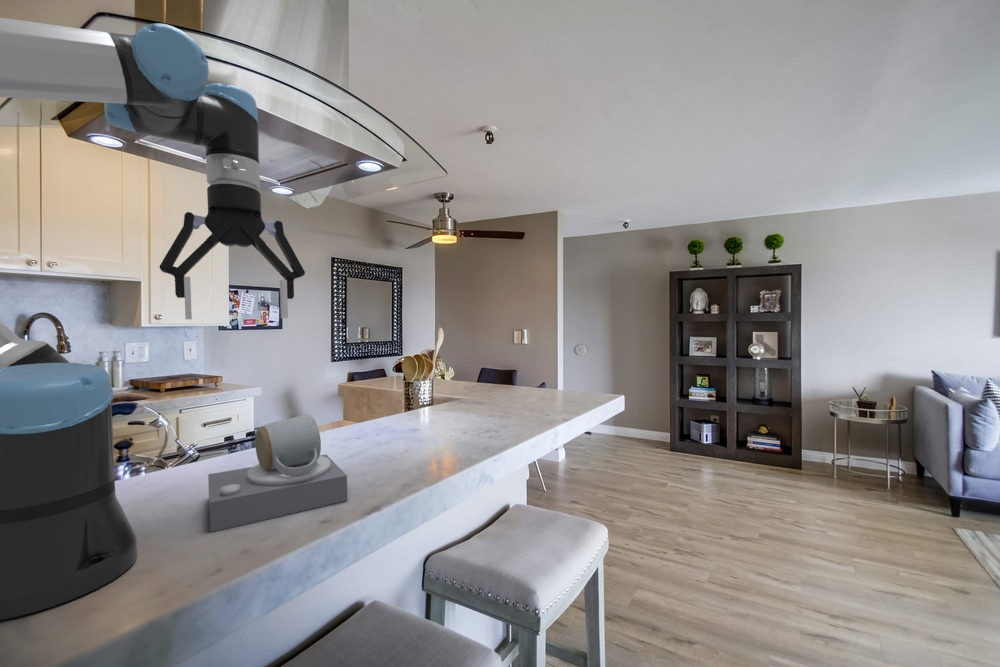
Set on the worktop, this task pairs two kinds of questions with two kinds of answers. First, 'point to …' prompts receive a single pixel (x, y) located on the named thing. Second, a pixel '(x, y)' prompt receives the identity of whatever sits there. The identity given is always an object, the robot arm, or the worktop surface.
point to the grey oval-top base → (272, 493)
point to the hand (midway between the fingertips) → (238, 319)
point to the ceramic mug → (289, 445)
